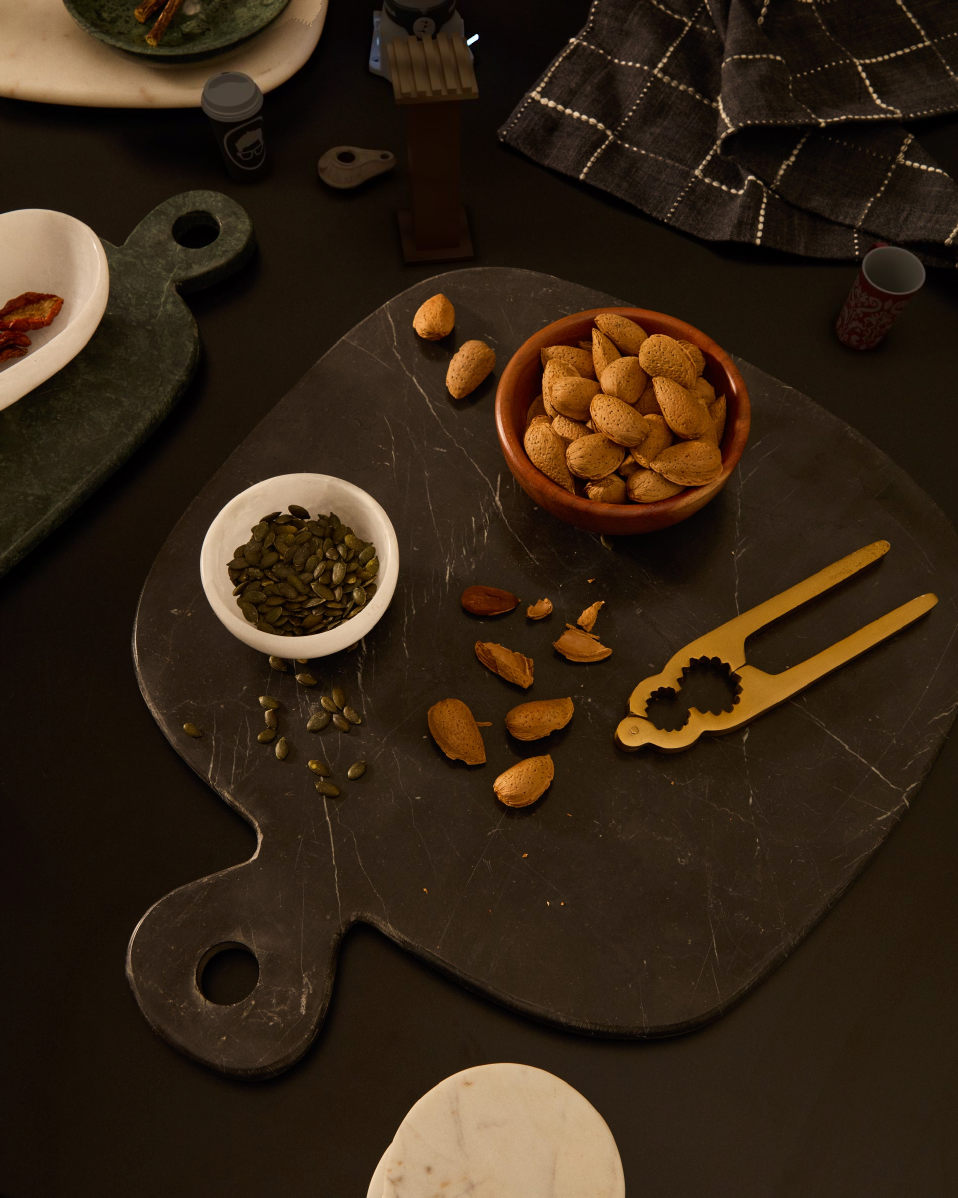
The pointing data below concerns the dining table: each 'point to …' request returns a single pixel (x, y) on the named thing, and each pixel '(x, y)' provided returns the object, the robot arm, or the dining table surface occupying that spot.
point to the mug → (878, 295)
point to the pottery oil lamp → (353, 166)
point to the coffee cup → (237, 123)
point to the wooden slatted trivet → (431, 69)
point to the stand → (434, 186)
